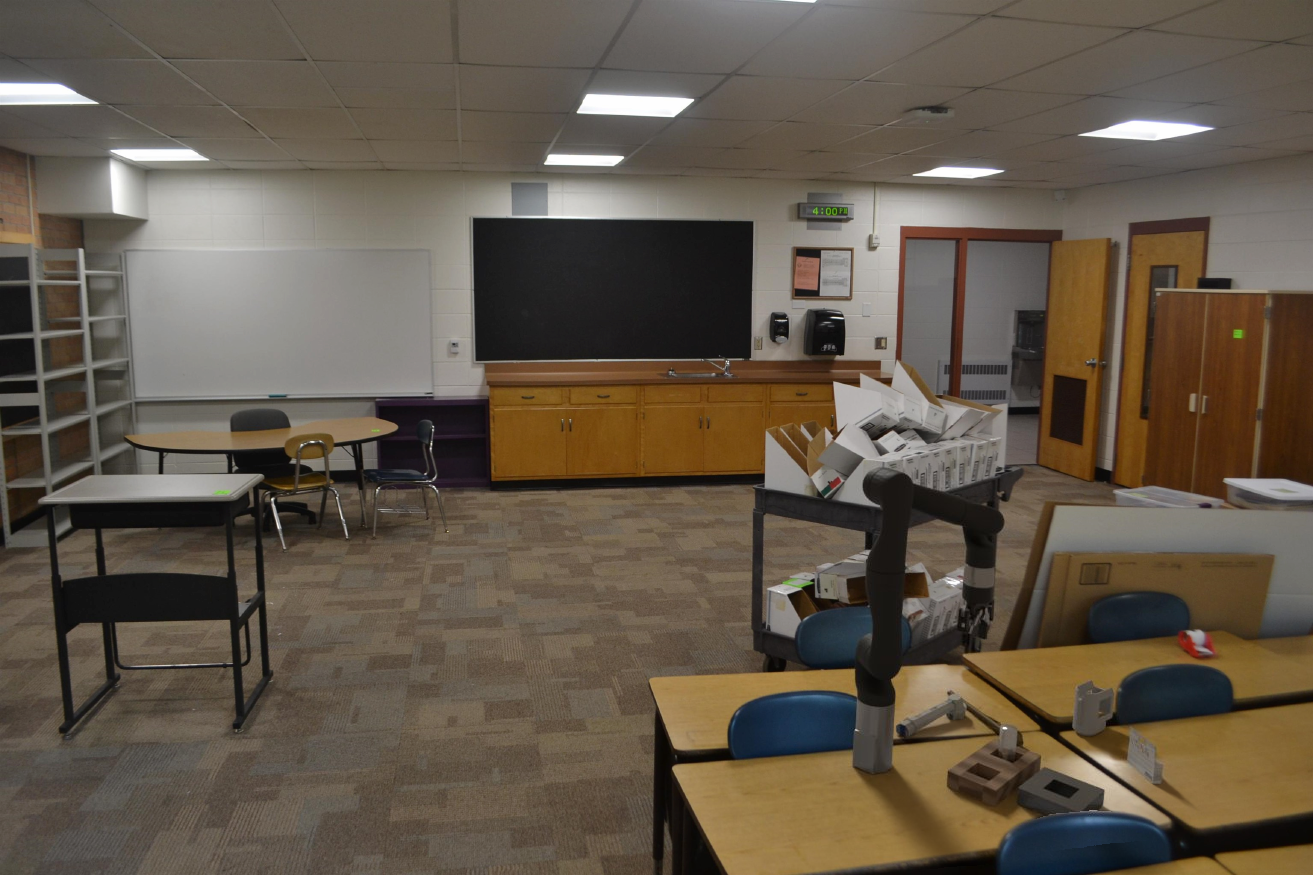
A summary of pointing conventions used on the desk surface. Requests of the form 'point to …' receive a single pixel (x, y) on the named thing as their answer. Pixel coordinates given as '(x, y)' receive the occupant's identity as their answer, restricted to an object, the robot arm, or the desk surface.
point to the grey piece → (933, 715)
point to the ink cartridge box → (1144, 758)
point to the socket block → (1058, 794)
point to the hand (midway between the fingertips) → (974, 642)
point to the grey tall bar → (1007, 742)
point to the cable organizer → (1091, 708)
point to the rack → (992, 773)
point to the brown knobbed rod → (989, 720)
